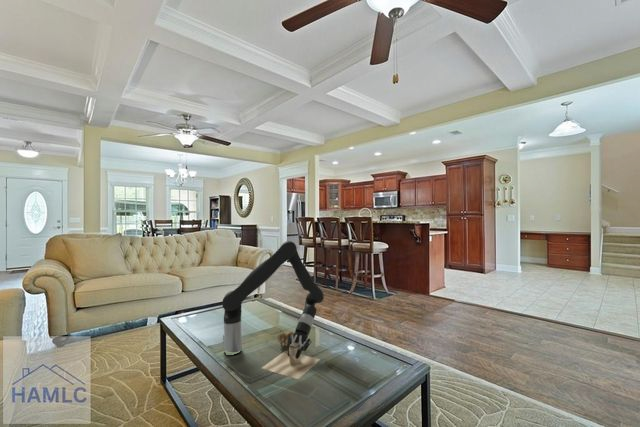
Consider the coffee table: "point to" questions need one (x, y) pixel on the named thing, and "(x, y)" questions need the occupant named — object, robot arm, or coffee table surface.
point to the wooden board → (290, 365)
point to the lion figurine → (284, 337)
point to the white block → (294, 353)
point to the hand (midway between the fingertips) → (292, 357)
